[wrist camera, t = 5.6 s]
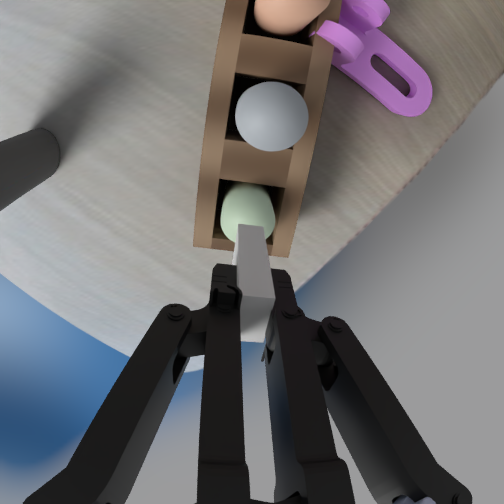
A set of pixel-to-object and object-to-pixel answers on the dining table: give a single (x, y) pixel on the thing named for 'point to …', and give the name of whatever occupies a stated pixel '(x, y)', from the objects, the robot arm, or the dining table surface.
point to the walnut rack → (233, 144)
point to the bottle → (26, 163)
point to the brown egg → (286, 15)
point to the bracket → (375, 42)
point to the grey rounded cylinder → (271, 116)
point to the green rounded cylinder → (246, 208)
